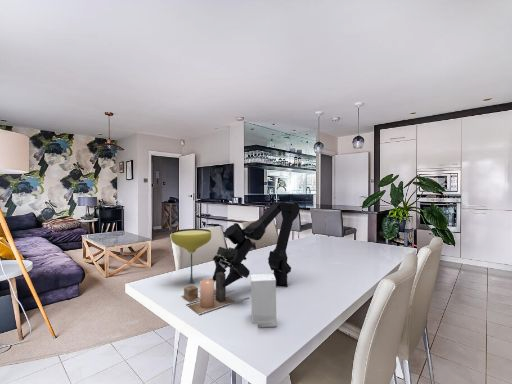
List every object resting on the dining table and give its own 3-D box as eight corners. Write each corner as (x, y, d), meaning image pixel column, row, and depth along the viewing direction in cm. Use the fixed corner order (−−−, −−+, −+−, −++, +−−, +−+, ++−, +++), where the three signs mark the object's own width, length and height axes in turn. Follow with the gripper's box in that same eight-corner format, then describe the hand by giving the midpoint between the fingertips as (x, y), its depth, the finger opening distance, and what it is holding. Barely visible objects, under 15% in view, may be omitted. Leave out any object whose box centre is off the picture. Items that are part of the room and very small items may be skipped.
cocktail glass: (170, 281, 127) (170, 229, 126) (207, 277, 133) (207, 227, 133) (172, 295, 110) (172, 236, 109) (215, 289, 116) (214, 233, 116)
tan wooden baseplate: (223, 297, 107) (223, 268, 107) (235, 303, 101) (235, 273, 101) (187, 308, 97) (187, 277, 97) (197, 316, 91) (197, 283, 91)
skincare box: (274, 317, 91) (274, 273, 91) (277, 328, 84) (277, 279, 84) (250, 318, 91) (250, 273, 91) (251, 328, 84) (251, 280, 84)
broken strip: (211, 290, 115) (211, 287, 115) (221, 296, 109) (221, 293, 109) (180, 299, 106) (180, 296, 106) (189, 306, 100) (189, 302, 100)
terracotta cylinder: (215, 302, 100) (215, 278, 100) (212, 308, 95) (212, 283, 95) (202, 301, 101) (202, 278, 100) (198, 307, 96) (198, 283, 95)
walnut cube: (193, 294, 107) (193, 285, 107) (197, 297, 104) (197, 287, 104) (184, 297, 105) (184, 287, 105) (188, 300, 102) (188, 290, 102)
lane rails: (233, 293, 112) (233, 290, 112) (249, 301, 104) (249, 298, 104) (185, 308, 98) (185, 304, 98) (199, 319, 90) (199, 315, 90)
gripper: (216, 235, 111) (192, 266, 104) (243, 242, 97) (217, 279, 90) (231, 251, 116) (210, 281, 109) (259, 260, 102) (236, 295, 95)
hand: (217, 284), depth 101 cm, fingers open, 7 cm apart
